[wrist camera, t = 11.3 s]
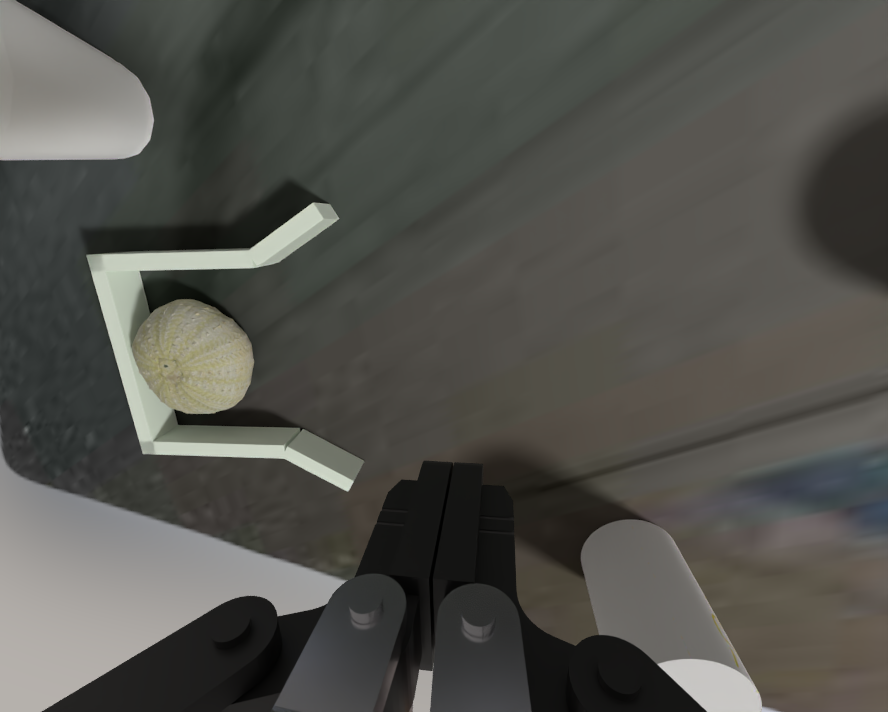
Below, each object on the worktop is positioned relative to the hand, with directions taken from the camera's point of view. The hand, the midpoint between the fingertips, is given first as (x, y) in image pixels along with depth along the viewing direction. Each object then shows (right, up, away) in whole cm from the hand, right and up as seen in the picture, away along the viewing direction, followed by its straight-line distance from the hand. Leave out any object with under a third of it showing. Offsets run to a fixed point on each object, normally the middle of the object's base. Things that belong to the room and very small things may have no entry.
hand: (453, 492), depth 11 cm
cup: (+16, -14, +26) cm, 34 cm away
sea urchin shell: (-20, +4, +25) cm, 32 cm away
